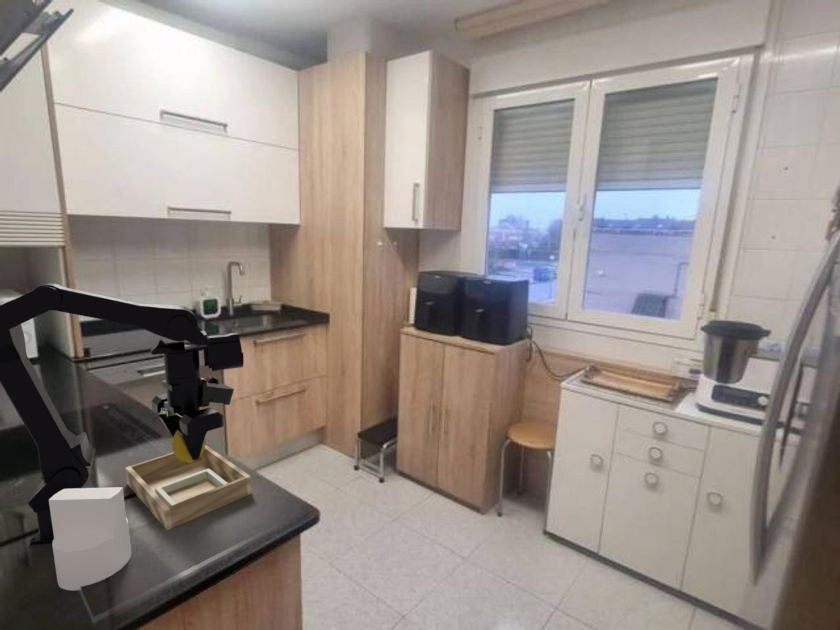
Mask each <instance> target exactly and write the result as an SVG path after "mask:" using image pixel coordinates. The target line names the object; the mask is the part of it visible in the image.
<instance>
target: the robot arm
mask: <svg viewBox="0 0 840 630" xmlns="http://www.w3.org/2000/svg"><path fill="white" fill-rule="evenodd" d="M49 311H56V312H62V313H65V314H66V313H67V314H71V315H77V316H81V317H87V318H92V319H97V320H98V319H99V320H103V321H108V322H114V323H117V324H118V323H119V324H122V325H129V326H132V327H133V326H134V327H137V328H139V329H143V330H145V331H147V332H149V333H152V334H154V335H156V336H159V337H161V338H159V339H158V341H157V343H156V344H155V345H153V346H152V347H151V350H150V353H151V355H153V356H155V355H163V364H164V365H163V366H164V376H165V377H164V378H165V379H163V380H162V381H161V387H163V388H165V389H166V393H162V394H158V395H157V394H156V395H155V397H154V398H153V399H152V400H151V401H150V403H151V411H153V413H155V414H158V415H157V417H158V419H159V420H160V421H161V422H162V424H163V426H164V428H165V429H166V430H167V432H168V433H169V435H170V436H171V438H172V439H173V438H174V435H175V433H176V431H177V432H178V434H179V436H180V438H181V439H182V441H183V443H184V445H185V447H186V449H187V451H188V453H189V455H190V456H191V458H192V460H196V459H199V457H200V453H201V449H202V446H203V442H204V438H205V439H206V435H207V433H208V432H209V431H210V432H211V431H213V430H216V429H219V428H222V427H224V426H225V419H224V414H222V413H220V412H219V411H217V410H216V409H214V408H212V407H209V406H210V405H211V404H210V403H212V404H213V403H214V404H223V405H225V406H226V405H227V406H230V404H231V402H232V401H231V400H232V399H233V395H234V391H235V389H234V387H232V386H229V385H227V384H223V383H219V379H218V378H217V377H215V376H206V378H203V377H201V362H200V361H201V360H200V351H202V353H201V355H202V361H203V362H202V363H203V367H205V368H207V367H208V369H210V372H215V371H224V370H232V369H240V368H241V369H242V368H243V367H244V351H243V350H242V343H241V339H240V338H241V337H240V334H239V333H238V332H230V333H227V334H218V335H209V336H208V334H207V332H206V331H205V330H203V329H202V328H201V327H200V326H199V325H198V319H197V317H196V315H195V313H194V312H193V311H192V310H191V309H190V308H189V307H186V306H184V305H179V304H177V305H176V304H164V303H156V304H155V303H153V304H152V303H140V302H135V301H129V300H126V299H122V298H116V297H111V296H107V295H102V294H97V293H94V292H89V291H83V290H79V289H74V288H70V287H64V286H63V285H61V284H58V283H52V282H51V283H50V282H49V283H45V284H42V285H39V286H38V287H35V289H34V290H32V291H29V292H28V293H26V294H22V295H21V296H18V297H16V298H14V299H12V300H9V301H7V302H5V303H2V304H0V384H1V386H2V388H3V391H5V394H6V395H7V396H8V399H9V400H10V402H11V404H12V405H13V407H14V409H15V411H16V413H17V414H18V416H19V418H20V420H21V421H22V422H23V425H24V427H25V428H26V430H27V431H28V433H29V435H30V437H31V439H32V440H33V442H34V444H35V446H36V449H37V455H38V456H37V458H38V464H39V469H40V473H41V477H40V479H39V480H38V483H37V485H36V487H35V488H34V491H33V492H32V494H31V497H30V499H29V500H28V502H27V504H28V506H29V507H30V508H31V510H32V511H33V512H34V513H35V514H36V520H37V521H36V522H37V525H38V531H37V532H36V533H35V534H34V535H33V536H32V537H31V538H30V539H29V540H28V541H29V544H30V545H32V544H41V543H42V544H43V543H49V542H50V543H51V542H53V540H54V534H53V527H52V520H51V513H50V506H49V499H50V498H51V497H52V496H53V495H55V494H56V493H58V492H59V491H61V490H63V489H72V488H83V486H85V484H86V483H87V481H88V479H89V477H90V474H91V470H92V468H93V463H94V457H95V453H96V451H97V450H96V448H94V447H93V446H92V445H91V443H90V441H89V439H88V436H87V432H86V431H83V432H82V433H80V434H78V435H75V434H74V433H73V432H71V431H70V430H69V429H68V428H67V426H66V424H65V423H64V421H63V419H62V417H61V416H60V413H59V411H58V410H57V408H56V406H55V404H54V403H53V401H52V399H51V398H50V396H49V394H48V392H47V389H46V388H45V386H44V385H43V383H42V381H41V379H40V377H39V374H37V372H36V370H35V367H34V366H33V364H32V362H31V360H30V359H29V356H28V355H27V350H26V349H27V347H26V339H25V332H24V330H23V327H22V324H24V323H26V322H28V321H30V320H33V319H34V318H37V317H38V316H41V315H43V314H44V313H47V312H49ZM163 338H165V339H167V340H171V342H167V341H165V340H164V339H163ZM185 341H187V342H189V343H190V344H185ZM200 408H202V409H200ZM159 413H161V414H159Z"/></svg>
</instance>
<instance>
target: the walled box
mask: <svg viewBox="0 0 840 630" xmlns="http://www.w3.org/2000/svg"><path fill="white" fill-rule="evenodd" d="M208 468H209V469H210V470H212V471H213V472H214V473H216V474H217V475H218V476H219V477H221V478H222V479H223V480H225V481H226V482H227V484H225V485H222V486H220V487H218V486H216V485H215V484H214V483H213V482H212V481H210V480H209V479H208V478H206V479H203V480H200V481H198V482H195V483H192V484H190V485H187V486H184V487H182V488H179V489H176V490H174V491H171V492H169V493H167V494H168V495H169V496H170V497H171V498H172V499H173V500H174V502H175V503H176V504H175V505H172V506H170V507H168V506H167V505H166V504H165V503H164V502H163V501H162V500H161V499H160V497H159V496H158V495H157V494H156V493H155V488H156V487H159V486H162V485H165V484H167V483H170V482H173V481H176V480H178V479H181V478H184V477H187V476H189V475H192V474H195V473H197V472H200V471H203V470H206V469H208ZM124 469H125V478H126V485H127V486H128V487H129V488H130V489H131V490H132V492H133V493H134V494H135V495H136V496H137V497H138V498H139V500H140V501H141V502H142V504H144V505H145V507H146V508H147V509H148V510H149V511H150V512H151V513H152V515H153V516H154V517H155V518H156V519H157V521H158V522H159V523H160V524H161V525H162V527H163V528H164V529H165V530H166V531H168V530H169V531H170V530H171V529H173V528H176V527H179V526H180V525H183V524H184V523H185V524H186V523H187V522H190V521H192V520H194V519H197V518H199V517H201V516H203V515H205V514H208V513H210V512H212V511H215V510H217V509H219V508H222V507H224V506H226V505H229V504H231V503H233V502H235V501H238V500H240V499H243V498H244V497H247V496H249V495H252V494H253V492H252V490H253V489H252V477H251V475H250V474H248V473H247V472H245V471H244V470H242V469H241V468H239V467H238V466H237V465H235V464H234V463H232V462H231V461H230V460H228V459H227V458H225V457H224V456H223V455H221V454H220V453H219V452H217V451H215V450H213V449H212V448H211V447H209V446H208V444H207V445H205V450H204V452H203V454H202V455H201V456H200V457H199V459H196V460H194V462H193V463H188V462H184V461H181V460H179V459H178V458H177V457H176V456H175V454H174V451H173V452H169V453H166V454H164V455H160V456H157V457H154V458H150V459H148V460H144V461H142V462H138V463H135V464H132V465H129V466H126V467H125V468H124Z"/></svg>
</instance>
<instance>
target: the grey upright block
mask: <svg viewBox="0 0 840 630" xmlns="http://www.w3.org/2000/svg"><path fill="white" fill-rule="evenodd" d="M49 506H50V513H51V520H52V527H53V534H54V540H53V541H51V542H52V543H51V545H52V551H53V558H54V559H53V560H54V565H55V566H54V567H55V573H56V581H57V584H58V586H59V588H60V589H63V590H66V591H82V590H83V589H82V587H85V586H89V585H93V584H95V583H99V582H101V581H103V580H106V579H107V578H109V577H110V576H113V575H114V574H115V573H117V572H119V571H121V570H122V569H123V568H124V566H125V565H127V564H128V562H129V561H130V560H131V557H132V546H131V536H130V528H129V520H128V517H127V513H126V506H125V495H124V488H123V487H122V486H121V487H120V486H118V487H116V486H114V487H111V486H110V487H81V488H72V489H63V490H61V491H59V492H58V493H56V494H55V495H53V496H52V497H51V498H50V499H49Z"/></svg>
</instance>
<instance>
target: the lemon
mask: <svg viewBox="0 0 840 630" xmlns="http://www.w3.org/2000/svg"><path fill="white" fill-rule="evenodd" d="M205 445H206V437H205V438H204V442H203V446H202V449H201V453H200V456H201V455H202V454H203V452H204V450H205ZM172 451H173V452H174V454H175V456H176V457H177V458H178V459H179V460H181V461H184V462H188V463H193V462H194V460H192V458H191V456H190V455H189V453H188V451H187V449H186V447H185V445H184V443H183V441H182V439H181V438H180V436H179V434H178V432H177V431H176V433H175V435H174V438H172Z"/></svg>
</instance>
